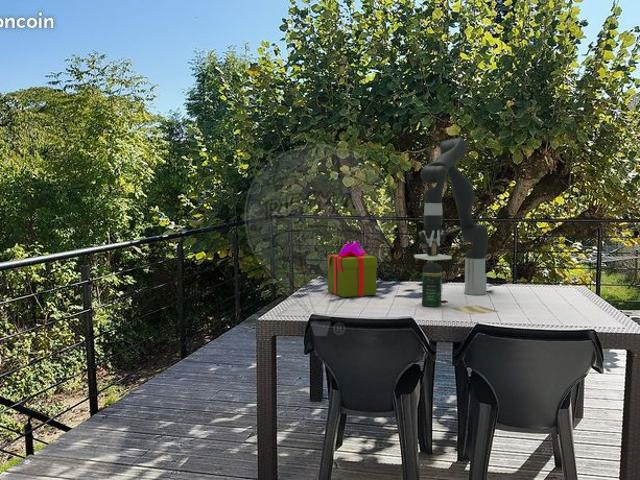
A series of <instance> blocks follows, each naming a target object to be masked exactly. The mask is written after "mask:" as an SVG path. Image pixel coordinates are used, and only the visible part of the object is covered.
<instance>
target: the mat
mask: <svg viewBox="0 0 640 480" xmlns="http://www.w3.org/2000/svg"><path fill="white" fill-rule="evenodd" d="M450 309H451V310H454V311H455V310H456V311H459V312H463V313H465V314H468V315H478V314H479V315H480V314H487V313H489V314H490V313H497V312H500V310H495V309H492V308H488V307H484V306H480V305H476V304H475V305H473V304H472V305H465V306H455V307H450Z"/></svg>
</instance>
